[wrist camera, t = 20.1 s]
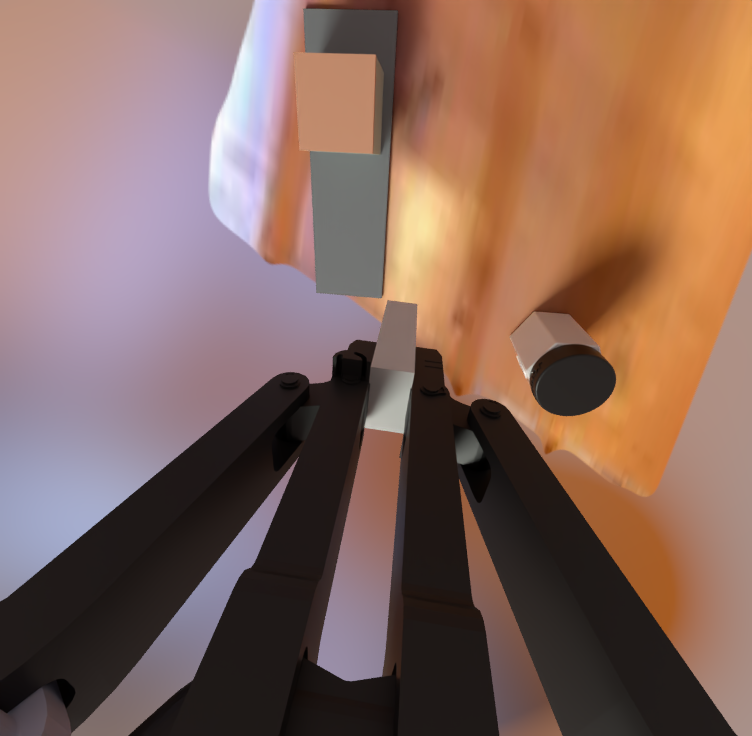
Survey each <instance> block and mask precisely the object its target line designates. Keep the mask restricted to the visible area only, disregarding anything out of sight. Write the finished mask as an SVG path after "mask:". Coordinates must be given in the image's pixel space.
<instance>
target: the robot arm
mask: <svg viewBox="0 0 752 736" xmlns="http://www.w3.org/2000/svg"><path fill="white" fill-rule="evenodd" d="M416 325H417V304H412V303H405V302H397V301H389V300H388V301H387V305H386V309H385V313H384V317H383V321H382V324H381V328H380V333H379V336H378V340H377V342H370V341H362V340H356V341H354V342H353V343H351V344H350V345H349V348H348V350H344V351H340V352H338V353H336V354H335V355H334V356H333V371H332V378H331V381H328V382H325V383H318V384H317V383H316V384H309V380H308V378H307V377H306V376H304V375H302V374H300V373H294V372H287V373H283V374H279V375H277V376H275V377H273V378H272V379H271V380H270V381H268V382H267V383H266V384H265V385H264V386H262V387H261V388H260V389H259V390H258V391H256V392H255V393H254V394H253V395H251V396H250V397H249V398H248V399H247V400H245V401H244V402H243V403H242V404H241V405H239V406H238V407H237V408H236V409H235V410H233V411H232V412H231V413H230V414H229V415H227V416H226V417H225V418H224V419H223V420H221V421H220V422H219V423H218V424H216V425H215V426H214V427H213V428H212V429H211V430H209V431H208V432H207V433H206V434H204V435H203V436H202V437H201V438H200V439H198V440H197V441H196V442H195V443H194V444H192V445H191V446H190V447H189V448H188V449H186V450H185V451H184V452H183V453H181V454H180V455H179V456H178V457H177V458H175V459H174V460H173V461H172V462H171V463H169V464H168V465H167V466H166V467H165V468H163V469H162V470H161V471H160V472H158V473H157V474H156V475H155V476H154V477H152V478H151V479H150V480H149V481H148V482H146V483H145V484H144V485H143V486H142V487H140V488H139V489H138V490H137V491H135V492H134V493H133V494H132V495H131V496H129V497H128V498H127V499H126V500H125V501H123V502H122V503H121V504H120V505H119V506H117V507H116V508H115V509H114V510H113V511H111V512H110V513H109V514H108V515H106V516H105V517H104V518H103V519H102V520H100V521H99V522H98V523H97V524H96V525H94V526H93V527H92V528H91V529H90V530H88V531H87V532H86V533H85V534H83V535H82V536H81V537H80V538H79V539H77V540H76V541H75V542H74V543H73V544H71V545H70V546H69V547H68V548H67V549H65V550H64V551H63V552H62V553H61V554H59V555H58V556H57V557H56V558H54V559H53V560H52V561H51V562H50V563H48V564H47V565H46V566H45V567H44V568H42V569H41V570H40V571H39V572H38V573H37V574H35V575H34V576H33V577H32V578H30V579H29V580H28V581H27V582H26V583H24V584H23V585H22V586H21V587H19V588H18V589H17V590H16V591H15V592H13V593H12V594H11V595H10V596H9V597H7V598H6V599H4V600H2V601H0V736H71V733H72V732H73V731H74V730H75V729H76V728H77V727H78V726H80V725H81V724H82V723H83V722H84V721H85V720H86V719H87V718H88V717H89V716H90V715H91V714H92V713H93V712H94V711H95V709H97V708H98V706H99V705H100V704H101V703H102V702H103V701H104V700H105V699H106V698H107V697H108V696H109V695H110V694H111V693H112V692H113V691H114V690H115V689H116V688H117V686H118V685H119V684H120V683H121V682H122V680H123V679H124V678H125V677H126V676H127V674H128V673H129V672H130V671H131V670H132V668H133V667H134V666H135V665H136V664H137V663H138V661H139V660H140V659H141V658H142V656H143V655H144V653H146V651H147V650H148V649H149V647H150V646H151V645H152V644H153V642H154V641H155V640H156V638H157V637H158V636H159V635H160V633H161V632H162V631H163V630H164V628H165V627H166V626H167V624H168V623H169V622H170V620H171V619H172V618H173V617H174V615H175V614H176V613H177V612H178V610H179V609H180V608H181V607H182V605H183V604H184V603H185V601H186V600H187V599H188V598H189V596H190V595H191V594H192V592H193V591H194V590H195V589H196V587H197V586H198V585H199V583H200V582H201V581H202V580H203V578H204V577H205V576H206V574H207V573H208V572H209V571H210V570H211V568H212V567H213V566H214V564H215V563H216V562H217V561H218V559H219V558H220V557H221V555H222V554H223V553H224V552H225V550H226V549H227V548H228V546H229V545H230V544H231V542H232V541H233V540H234V539H235V538H236V536H237V535H238V533H239V532H240V531H241V530H242V529H243V527H244V526H245V525H246V523H247V522H248V521H249V520H250V518H251V517H252V516H253V515H254V513H255V512H256V511H257V509H258V508H259V507H260V506H261V504H262V503H263V502H264V500H265V499H266V498H267V497H268V495H269V494H270V493H271V491H272V490H273V489H274V488H275V486H276V485H277V484H278V483H279V481H280V480H281V479H282V478H283V476H284V475H285V474H286V472H287V471H288V470H289V469H290V467H291V466H292V465H293V463H294V462H295V461H296V460H297V458H298V457H299V458H298V460H297V463H296V465H295V467H294V470H293V472H292V475H291V477H290V479H289V482H288V484H287V487H286V489H285V492H284V494H283V496H282V499H281V501H280V504H279V506H278V508H277V511H276V513H275V516H274V518H273V521H272V523H271V525H270V528H269V530H268V533H267V535H266V537H265V540H264V542H263V545H262V547H261V550H260V552H259V554H258V556H257V559H256V561H255V563H254V565H253V566H252V567H251V568H249V569H246V570H244V572H243V573H242V574H241V576H240V577H239V579H238V581H237V583H236V585H235V587H234V589H233V591H232V594H231V595H230V598H229V600H228V602H227V604H226V607H225V609H224V611H223V614H222V616H221V618H220V620H219V623H218V625H217V627H216V629H215V632H214V634H213V636H212V639H211V641H210V643H209V645H208V648H207V650H206V652H205V654H204V657H203V659H202V661H201V663H200V666H199V668H198V670H197V673H196V675H195V677H194V679H193V681H191V682H190V683H188V684H187V685H186V686H184V687H183V688H182V689H180V690H179V691H178V692H177V693H175V694H174V695H173V696H172V697H171V698H170V699H168V700H167V701H166V702H165V703H164V704H163V705H162V706H161V707H160V708H158V709H157V710H156V711H155V712H154V713H153V714H152V715H151V716H150V717H148V718H147V719H146V720H145V721H144V722H143V723H142V724H141V725H140V726H138V727H137V728H136V729H135V730H134V731H133V732H132V733H131V734H130V735H129V736H499V730H498V722H497V715H496V707H495V700H494V692H493V684H492V677H491V669H490V662H489V653H488V646H487V638H486V631H485V626H484V621H483V617H482V615H481V612H480V610H478V609H477V608H476V607H474V604H473V600H472V594H471V586H470V577H469V567H468V558H467V549H466V540H465V531H464V521H463V513H462V503H461V494H460V484H459V479H460V482H461V484H462V486H463V489H464V492H465V494H466V497H467V499H468V502H469V504H470V507H471V509H472V512H473V514H474V517H475V519H476V521H477V524H478V526H479V529H480V531H481V534H482V536H483V539H484V541H485V544H486V546H487V549H488V551H489V554H490V556H491V559H492V561H493V564H494V566H495V569H496V571H497V574H498V576H499V579H500V581H501V583H502V586H503V589H504V591H505V593H506V596H507V598H508V601H509V604H510V606H511V609H512V611H513V613H514V616H515V618H516V621H517V623H518V626H519V628H520V631H521V633H522V636H523V638H524V641H525V643H526V646H527V648H528V651H529V653H530V656H531V658H532V661H533V663H534V666H535V668H536V671H537V673H538V676H539V678H540V681H541V683H542V686H543V688H544V691H545V693H546V695H547V698H548V700H549V703H550V705H551V708H552V710H553V713H554V715H555V718H556V720H557V723H558V725H559V728H560V730H561V732H562V735H563V736H737V735H736V734H735V733H734V731H733V730H732V729H731V727H730V726H729V724H728V723H727V721H726V720H725V719H724V717H723V716H722V714H721V713H720V711H719V710H718V709H717V707H716V706H715V704H714V703H713V701H712V700H711V699H710V697H709V696H708V694H707V693H706V692H705V690H704V689H703V687H702V686H701V684H700V683H699V681H698V680H697V679H696V677H695V676H694V674H693V673H692V671H691V670H690V669H689V667H688V666H687V664H686V663H685V661H684V660H683V659H682V657H681V656H680V654H679V653H678V651H677V650H676V649H675V647H674V646H673V644H672V643H671V641H670V640H669V638H668V637H667V636H666V634H665V633H664V631H663V630H662V629H661V627H660V626H659V624H658V623H657V621H656V620H655V618H654V617H653V616H652V614H651V613H650V611H649V610H648V608H647V607H646V606H645V604H644V603H643V601H642V600H641V599H640V597H639V596H638V594H637V593H636V591H635V590H634V588H633V587H632V586H631V584H630V583H629V582H628V580H627V578H626V577H625V576H624V574H623V573H622V571H621V570H620V568H619V567H618V566H617V564H616V563H615V561H614V560H613V559H612V557H611V556H610V554H609V553H608V551H607V550H606V548H605V547H604V545H603V544H602V543H601V541H600V540H599V538H598V537H597V536H596V534H595V533H594V531H593V530H592V528H591V527H590V526H589V524H588V523H587V521H586V520H585V518H584V517H583V515H582V514H581V513H580V511H579V510H578V508H577V507H576V505H575V504H574V503H573V501H572V500H571V498H570V497H569V495H568V494H567V493H566V491H565V490H564V488H563V487H562V485H561V484H560V483H559V481H558V480H557V478H556V477H555V475H554V474H553V473H552V471H551V470H550V468H549V467H548V465H547V464H546V463H545V461H544V460H543V458H542V457H541V456H540V454H539V453H538V451H537V450H536V448H535V447H534V445H533V444H532V443H531V441H530V440H529V438H528V437H527V435H526V434H525V433H524V431H523V430H522V428H521V427H520V425H519V424H518V422H517V421H516V420H515V418H514V417H513V415H512V414H511V412H510V411H509V410H508V409H507V408H506V407H505V406H504V405H502V404H500V403H499V402H496V401H493V400H489V399H478V400H475V401H474V402H472V404H471V406H468V405H465V404H462V403H460V402H458V401H456V400H454V399H452V398H451V397H450V393H449V391H448V389H447V388H446V387H445V385H444V374H443V364H442V356H441V355H440V353H439V352H438V351H437V350H434V349H427V348H420V347H416ZM364 426H365V428H371V429H378V430H384V431H390V432H397V433H403V434H404V435H403V441H402V446H401V452H400V458H401V464H400V476H399V488H398V501H397V514H396V527H395V539H394V553H393V565H392V577H391V591H390V603H389V616H388V617H389V618H388V629H387V641H386V652H385V660H384V667H383V675H382V677H377V678H371V679H364V680H358V681H345V680H342V679H341V678H339V677H337V676H335V675H334V674H332V673H330V672H328V671H327V670H325V669H323V668H321V667H320V666H318V665H317V660H318V653H319V646H320V640H321V635H322V630H323V625H324V620H325V616H326V611H327V606H328V602H329V597H330V592H331V587H332V582H333V578H334V573H335V568H336V563H337V559H338V554H339V550H340V545H341V540H342V536H343V531H344V526H345V521H346V517H347V512H348V506H349V503H350V498H351V493H352V488H353V484H354V479H355V474H356V469H357V465H358V459H359V455H360V451H361V446H362V441H363V436H364Z"/></svg>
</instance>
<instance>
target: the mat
mask: <svg viewBox="0 0 752 736" xmlns="http://www.w3.org/2000/svg"><path fill="white" fill-rule="evenodd" d="M303 10H304V31H305V53H337V54H375V55H376V56H377V59H378V61H379V63H380V65H381V67H382V69H383V72H384V84H383V107H382V131H381V154H380V155H375V154H355V153H335V152H316V151H310V162H311V184H312V206H313V227H314V249H315V271H316V292H317V293H325V294H326V293H327V294H337V295H349V296H360V297H372V298H382V286H383V269H384V251H385V234H386V216H387V198H388V181H389V163H390V145H391V128H392V110H393V93H394V75H395V57H396V40H397V22H398V10H350V9H303Z"/></svg>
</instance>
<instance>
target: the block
mask: <svg viewBox="0 0 752 736" xmlns="http://www.w3.org/2000/svg"><path fill="white" fill-rule="evenodd" d="M293 53H294V69H295V85H296V102H297V118H298V134H299V150H303V151H316V152H335V153H355V154H375V155H380V154H381V131H382V107H383V84H384V72H383V69H382V67H381V65H380V63H379V61H378V59H377V56H376V55H375V54H337V53H300V52H293Z"/></svg>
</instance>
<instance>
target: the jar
mask: <svg viewBox="0 0 752 736" xmlns="http://www.w3.org/2000/svg"><path fill="white" fill-rule="evenodd" d="M510 340H511V343H512V345H513V348H514V351H515V353H516V357H517V360H518V362H519V365H520V367H521V369H522V372H523V374H524V376H525V378H526V379H527V381H528V383H529V385H530V387H531V390H532V393H533V395H534V397H535V399H536V400H537V402H538V403H539V405H540V406H541V407H542V408H544V409H545V410H546V411H548V412H550V413H553V414H556V415H560V416H576V415H581V414H584V413H587V412H590V411H592V410H594V409H596V408H597V407H599V406H600V405H602V404H603V403H604V402H605V401H606V400H607V399H608V398H609V397H610V395H611V394H612V392H613V390H614V387H615V384H616V375H615V371H614V369H613V367H612V366H611V365H610V363H609V362H608V361H607V360H606V359H605V358H604V357H603V356H602V355H601V351H600V347H599V345H598V344H597V343H596V342H595V341H594V340H593V339H592V338H591V337H590V336H589V335H588V334H587V333H586V332H585V330H584V329H583V328H582V327H581V326H580V325H579V324H578V323H577V322H576V321H575V320H574V319H573V318H572V317H571V316H570V315H569V314H562V313H549V312H536V311H534V312H533V313H532V314H531V315H530V316H529V317H528V318H527V319H526V320H525V321H524V322H523V323H522V324H521V325H520V326H519V327H518V328H517V329H516V330H515V331H514V332H513V333H512V334H511V335H510Z"/></svg>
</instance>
